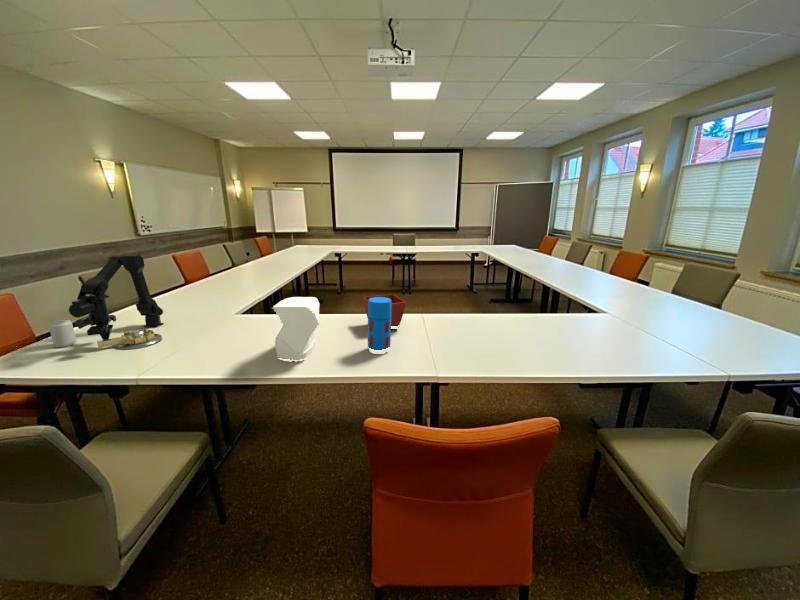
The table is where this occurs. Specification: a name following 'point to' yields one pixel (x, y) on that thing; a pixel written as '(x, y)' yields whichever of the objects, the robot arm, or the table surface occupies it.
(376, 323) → the thermos
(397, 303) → the plant pot
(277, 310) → the white irregular block
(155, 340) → the cap plate
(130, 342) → the wooden gear crank
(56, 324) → the can
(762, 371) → the table surface
